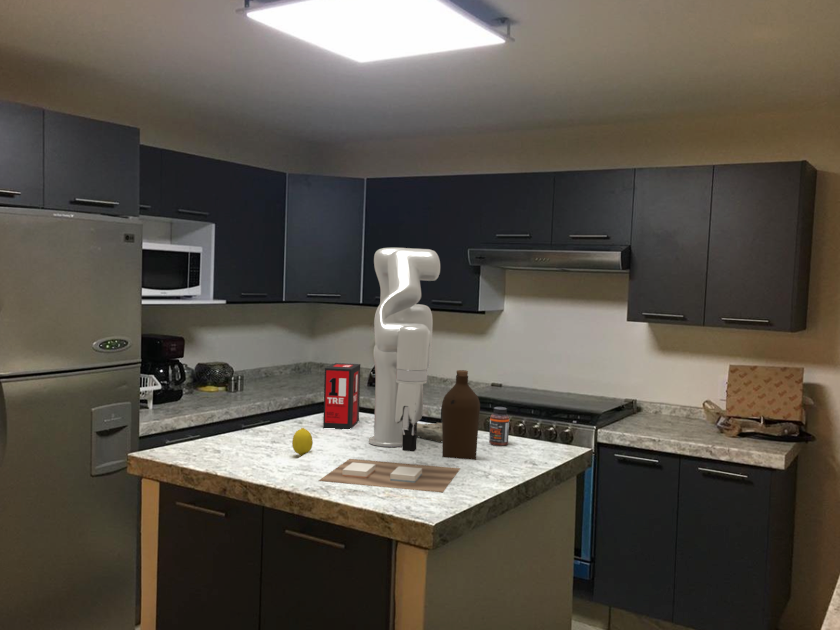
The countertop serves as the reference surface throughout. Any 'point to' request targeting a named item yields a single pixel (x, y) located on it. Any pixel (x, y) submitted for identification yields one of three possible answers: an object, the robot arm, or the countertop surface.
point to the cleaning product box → (341, 395)
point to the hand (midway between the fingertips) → (409, 450)
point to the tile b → (406, 474)
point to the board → (428, 481)
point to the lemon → (302, 441)
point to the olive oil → (460, 420)
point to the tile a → (359, 470)
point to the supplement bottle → (499, 427)
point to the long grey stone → (430, 431)
